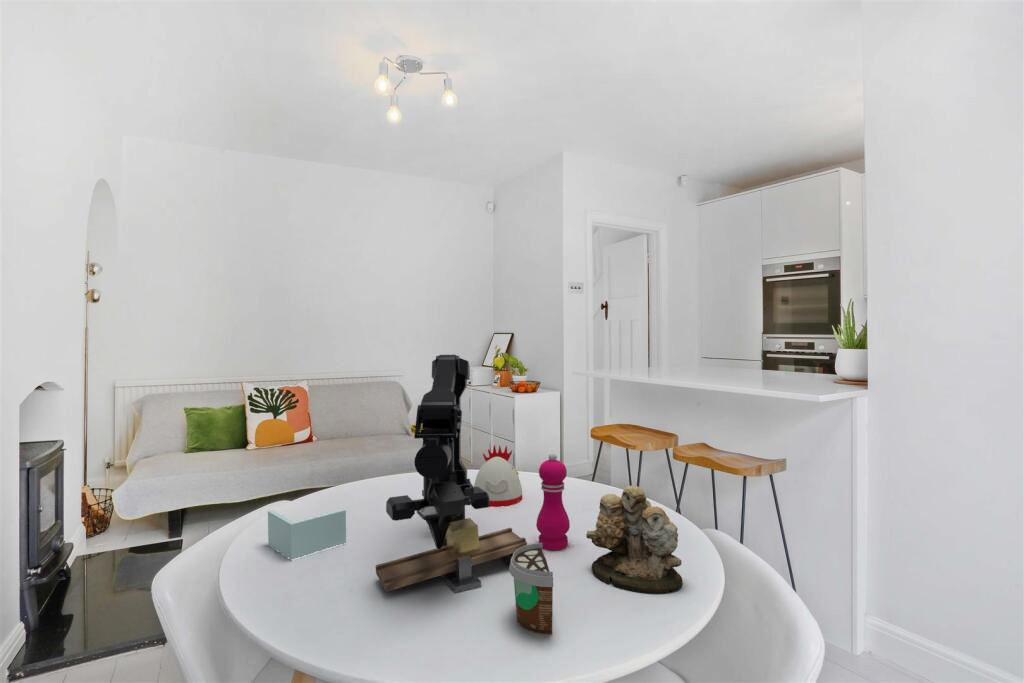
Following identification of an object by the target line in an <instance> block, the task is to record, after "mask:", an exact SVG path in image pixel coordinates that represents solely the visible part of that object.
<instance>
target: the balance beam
mask: <svg viewBox="0 0 1024 683" xmlns="http://www.w3.org/2000/svg"><path fill="white" fill-rule="evenodd" d="M526 540H527V538H525V537H524V536H523V537H521V536H520V535H518V534H517V533H515V532H514V531H513V528H512V527H507V528H504V529H501V530H496V531H493V532H490V533H486V534H483V535H479V547H480V550H479V551H475V552H472V553H468V554H465V555H462V556H467V555H469V556H470V557H471V567H473V566H475V565H479V564H482V563H485V562H488V561H491V560H495V559H499V558H500V557H502V556H505V555H508V554H512V553H514V552H515V551H516V550H517V549H519V548H521V547H523V546H526V545H528V542H527V541H526ZM462 556H458V557H462ZM456 558H457V557H455V558H453V557H452V556H451V555H450V554H449V552H448V549H447V545H446V546H443V547H441V549H437V548H432V549H429V550H425V551H421V552H417V553H414V554H411V555H407V556H405V557H400V558H397V559H393V560H390V561H387V562H383V563H379V564H376V565H375V574H376V576H377V578H378V579H379V582H380V583H381V585H382V587H383V589H384V591H385V592H386V593H387V592H391V591H394V590H397V589H400V588H403V587H406V586H407V587H408V586H410V585H413V584H417V583H419V582H423V581H427V580H429V579H433V578H437V577H440V576H441V575H443V574H446V573H450V572H453V571H456Z"/></svg>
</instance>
